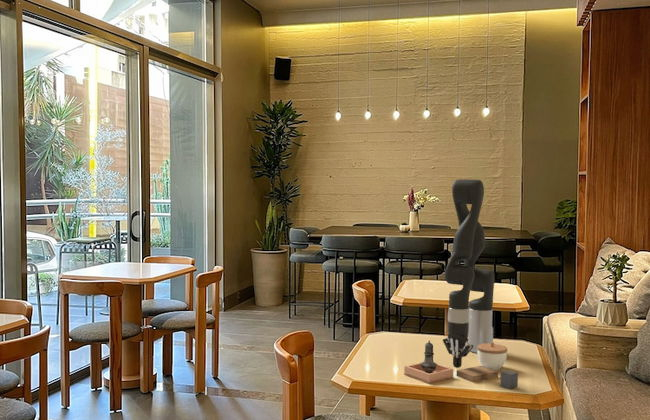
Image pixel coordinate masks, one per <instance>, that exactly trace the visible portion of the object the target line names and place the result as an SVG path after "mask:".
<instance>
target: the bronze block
mask: <svg viewBox="0 0 650 420" xmlns="http://www.w3.org/2000/svg"><path fill="white" fill-rule="evenodd" d="M498 375H499V370H492V369H489V368H487V367H484V366H482V365H477V366H471V367H466V368H462V369H457V370H456V377H459V378H460V379H464V380H466V381H469V382H471V383H475V382H482V381H485V380H491V379H496V378H498V377H499V376H498Z"/></svg>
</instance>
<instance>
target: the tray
mask: <svg viewBox="0 0 650 420" xmlns="http://www.w3.org/2000/svg"><path fill="white" fill-rule="evenodd" d="M422 362H423V361H421V362H418V363H413V364H408V365H405V366H404V372H403V374H404V376H408V377H410V378H412V379H413V378H414V379H416V380H418V381H421V382H424V383H426V384H433V383H436V382H440V381H444V380H448V379H452V378H454V368H452V367H448V366H445V365H442V364H439V363H436V362H435V363H436V364H437V366H436V369H435V370H434V371H433V372H434V373H426V372H423V371H424V370H423V369H422V367H421V364H420V363H422Z"/></svg>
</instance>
